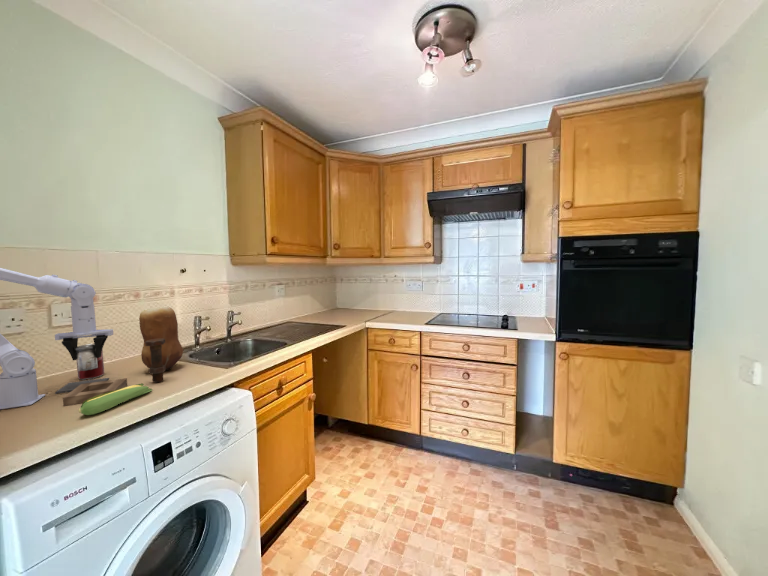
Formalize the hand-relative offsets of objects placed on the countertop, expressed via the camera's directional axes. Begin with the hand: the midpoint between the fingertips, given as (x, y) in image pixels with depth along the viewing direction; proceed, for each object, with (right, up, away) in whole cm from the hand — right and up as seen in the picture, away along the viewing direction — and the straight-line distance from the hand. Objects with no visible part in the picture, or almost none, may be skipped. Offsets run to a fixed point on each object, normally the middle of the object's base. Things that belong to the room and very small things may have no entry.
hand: (87, 358), depth 107 cm
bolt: (+21, -9, +4) cm, 24 cm away
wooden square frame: (+10, -10, -7) cm, 15 cm away
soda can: (-8, -10, +10) cm, 16 cm away
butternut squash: (+14, -9, +17) cm, 24 cm away
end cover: (+1, -4, 0) cm, 4 cm away
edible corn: (+22, -11, -13) cm, 28 cm away
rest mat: (-2, -10, +1) cm, 10 cm away
